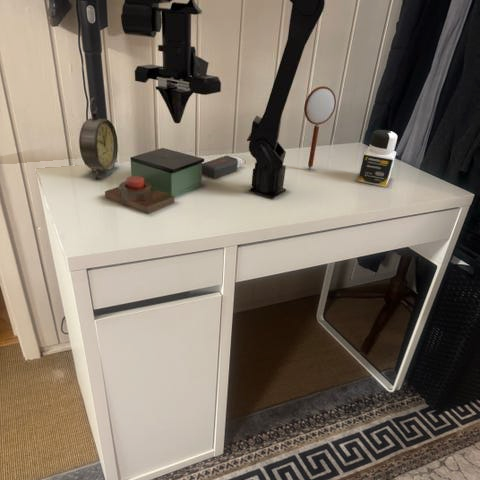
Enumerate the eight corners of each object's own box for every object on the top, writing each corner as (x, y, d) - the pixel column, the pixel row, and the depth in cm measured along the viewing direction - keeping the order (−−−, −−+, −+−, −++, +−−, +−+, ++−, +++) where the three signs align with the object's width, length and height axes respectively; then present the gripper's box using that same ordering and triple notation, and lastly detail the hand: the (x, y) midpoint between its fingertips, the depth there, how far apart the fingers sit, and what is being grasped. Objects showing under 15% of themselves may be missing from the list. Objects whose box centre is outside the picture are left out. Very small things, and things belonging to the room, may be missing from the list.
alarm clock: (101, 182, 104) (93, 104, 94) (78, 178, 105) (68, 100, 95) (121, 167, 113) (115, 94, 103) (100, 164, 113) (92, 92, 104)
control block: (174, 203, 97) (174, 186, 95) (147, 214, 92) (146, 197, 90) (132, 188, 102) (131, 172, 100) (104, 198, 97) (102, 182, 94)
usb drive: (197, 173, 113) (198, 162, 112) (227, 163, 121) (228, 152, 120) (214, 179, 111) (214, 167, 109) (243, 168, 119) (244, 157, 117)
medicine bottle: (357, 181, 117) (368, 132, 110) (362, 173, 123) (373, 126, 116) (385, 187, 116) (399, 137, 109) (389, 179, 121) (402, 131, 114)
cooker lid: (204, 161, 103) (204, 158, 103) (173, 172, 96) (173, 169, 96) (162, 150, 109) (162, 147, 108) (130, 160, 101) (130, 157, 101)
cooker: (201, 185, 107) (202, 162, 104) (171, 198, 99) (171, 173, 96) (163, 173, 112) (162, 150, 109) (131, 184, 104) (130, 160, 101)
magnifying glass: (321, 167, 124) (336, 85, 113) (325, 169, 123) (340, 87, 112) (293, 169, 121) (305, 85, 110) (296, 171, 120) (309, 87, 108)
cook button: (148, 187, 95) (148, 179, 94) (136, 192, 93) (135, 183, 92) (135, 183, 97) (135, 174, 96) (122, 187, 94) (122, 179, 93)
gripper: (237, 44, 94) (233, 125, 103) (166, 33, 101) (167, 110, 111) (205, 46, 86) (203, 134, 95) (130, 35, 94) (135, 117, 103)
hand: (177, 123), depth 101 cm, fingers closed
